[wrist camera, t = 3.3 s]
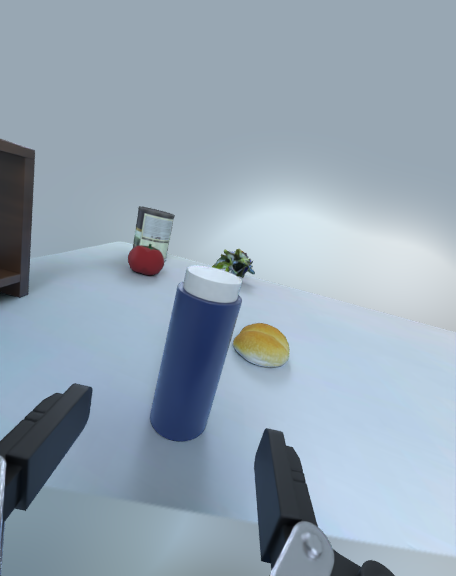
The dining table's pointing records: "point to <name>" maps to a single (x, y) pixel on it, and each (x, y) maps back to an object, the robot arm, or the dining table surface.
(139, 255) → the tomato
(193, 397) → the water bottle
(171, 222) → the coffee can
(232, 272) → the purple flowering plant
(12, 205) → the shoe shelf
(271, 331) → the bread roll
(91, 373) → the dining table surface
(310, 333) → the dining table surface
